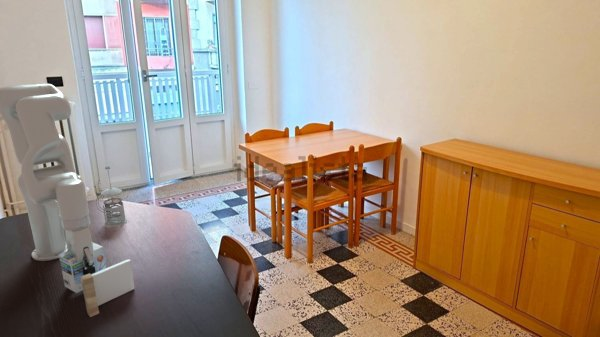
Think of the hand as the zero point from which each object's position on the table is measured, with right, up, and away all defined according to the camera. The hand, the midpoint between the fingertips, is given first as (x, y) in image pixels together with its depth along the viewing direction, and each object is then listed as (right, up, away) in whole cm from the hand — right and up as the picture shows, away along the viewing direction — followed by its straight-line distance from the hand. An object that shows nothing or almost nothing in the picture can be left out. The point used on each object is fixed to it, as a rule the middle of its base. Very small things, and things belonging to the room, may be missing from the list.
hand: (85, 273), depth 128 cm
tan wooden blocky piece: (0, -7, -2) cm, 8 cm away
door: (+9, -7, -2) cm, 12 cm away
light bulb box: (0, -3, +1) cm, 3 cm away
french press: (-13, +9, +49) cm, 51 cm away
